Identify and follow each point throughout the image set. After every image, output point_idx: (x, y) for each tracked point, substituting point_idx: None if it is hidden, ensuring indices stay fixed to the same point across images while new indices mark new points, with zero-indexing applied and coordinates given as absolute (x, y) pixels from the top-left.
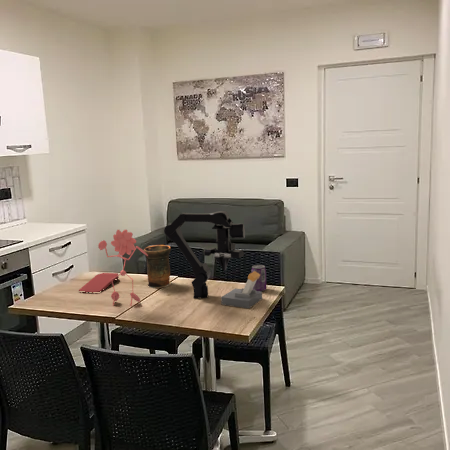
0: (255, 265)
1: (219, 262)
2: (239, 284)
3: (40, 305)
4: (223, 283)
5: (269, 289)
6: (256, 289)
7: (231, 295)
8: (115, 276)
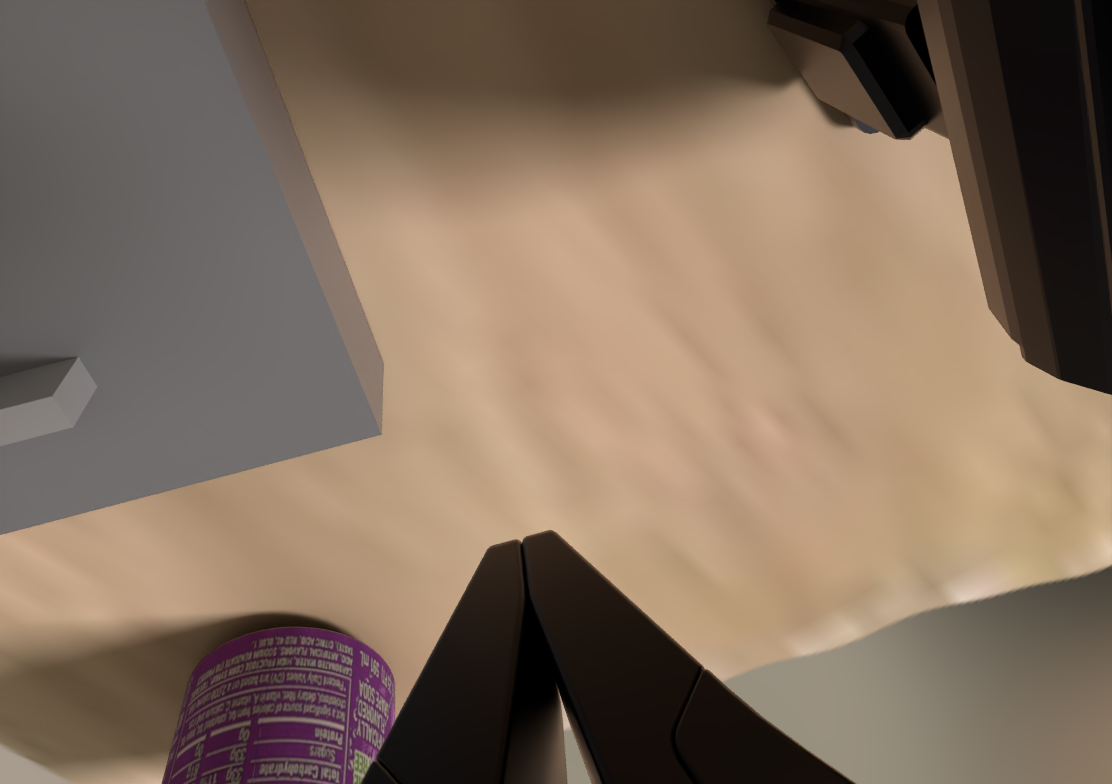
0: None
1: (745, 769)
2: None
3: None
4: (874, 582)
5: None
6: (245, 647)
7: (9, 31)
8: None
